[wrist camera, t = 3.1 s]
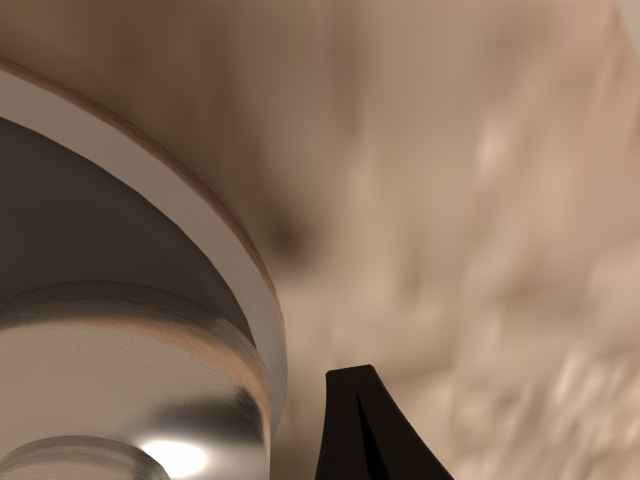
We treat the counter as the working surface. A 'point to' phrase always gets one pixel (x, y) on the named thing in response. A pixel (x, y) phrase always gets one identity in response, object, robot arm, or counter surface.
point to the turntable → (92, 229)
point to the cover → (128, 387)
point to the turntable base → (157, 198)
